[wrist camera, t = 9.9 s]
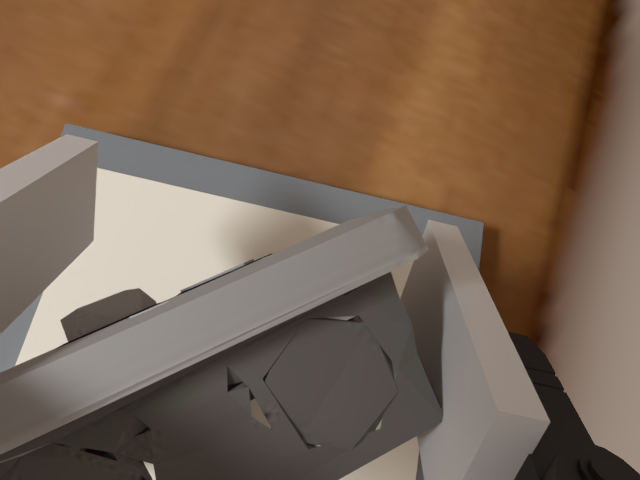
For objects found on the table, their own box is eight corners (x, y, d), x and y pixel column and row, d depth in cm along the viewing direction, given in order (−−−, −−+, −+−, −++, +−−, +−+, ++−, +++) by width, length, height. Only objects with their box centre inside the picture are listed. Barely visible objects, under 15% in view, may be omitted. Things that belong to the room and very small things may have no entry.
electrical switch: (312, 242, 18) (373, 108, 9) (381, 385, 17) (527, 398, 8) (32, 365, 16) (-261, 354, 7) (93, 535, 15) (-151, 784, 6)
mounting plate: (77, 141, 20) (54, 104, 18) (469, 234, 21) (497, 211, 19) (-99, 580, 15) (-164, 611, 13) (422, 674, 16) (453, 719, 14)
